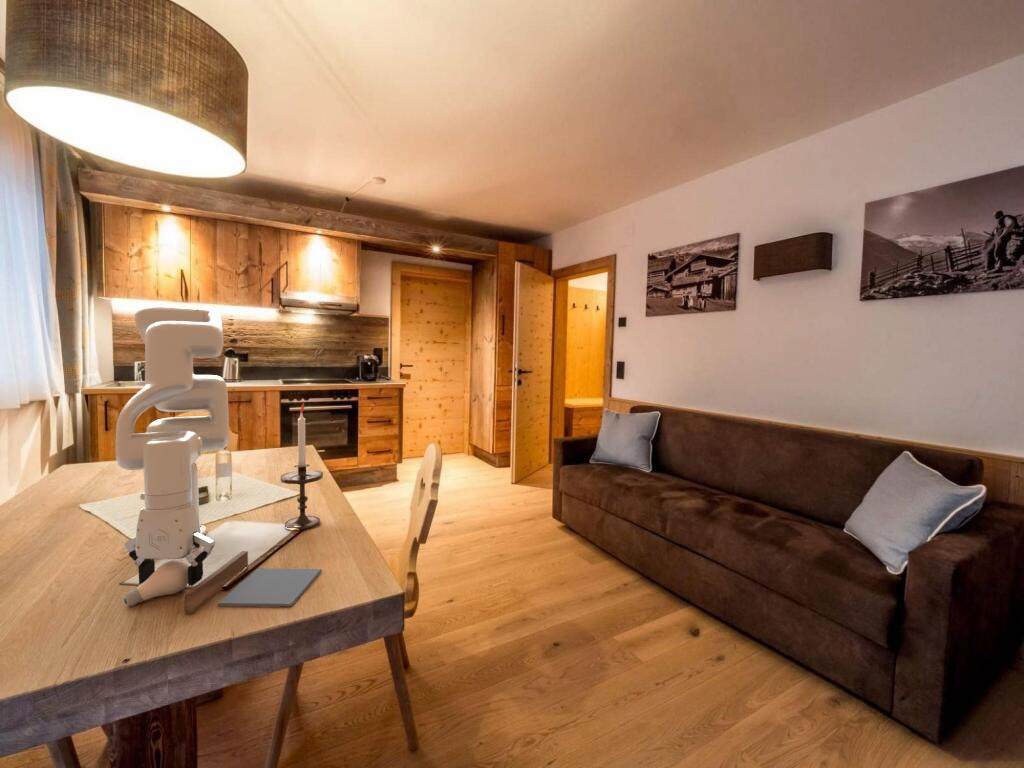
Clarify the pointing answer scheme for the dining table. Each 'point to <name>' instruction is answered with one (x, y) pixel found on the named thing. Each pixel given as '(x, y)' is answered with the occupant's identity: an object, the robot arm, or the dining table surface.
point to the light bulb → (161, 582)
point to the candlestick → (302, 481)
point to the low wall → (214, 583)
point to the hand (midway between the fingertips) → (171, 582)
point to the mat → (271, 587)
